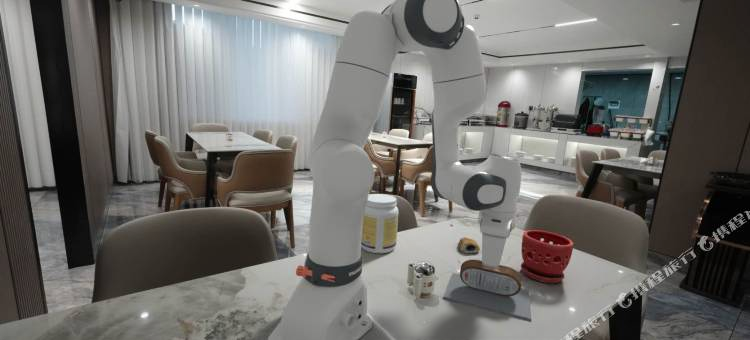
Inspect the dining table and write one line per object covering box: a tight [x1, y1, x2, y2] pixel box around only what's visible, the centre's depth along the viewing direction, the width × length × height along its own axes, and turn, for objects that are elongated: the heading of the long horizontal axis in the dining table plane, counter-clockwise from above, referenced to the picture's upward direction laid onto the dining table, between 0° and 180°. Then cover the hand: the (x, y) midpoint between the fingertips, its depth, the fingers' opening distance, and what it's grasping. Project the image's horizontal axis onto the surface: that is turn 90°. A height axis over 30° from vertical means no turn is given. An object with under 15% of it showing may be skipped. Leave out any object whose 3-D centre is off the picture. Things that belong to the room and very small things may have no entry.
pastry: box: [458, 236, 481, 254], centre depth 117 cm, size 9×7×4 cm
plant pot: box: [520, 229, 575, 284], centre depth 100 cm, size 13×13×12 cm
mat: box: [443, 272, 532, 322], centre depth 88 cm, size 14×20×1 cm
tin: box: [459, 259, 523, 296], centre depth 87 cm, size 15×3×8 cm, turn 68°
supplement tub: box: [361, 193, 400, 254], centre depth 113 cm, size 12×12×17 cm
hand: (490, 269), depth 89 cm, fingers closed
